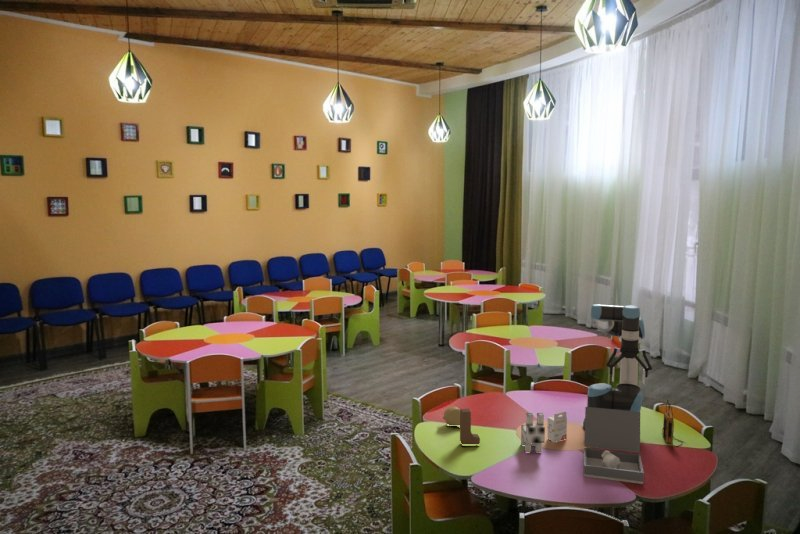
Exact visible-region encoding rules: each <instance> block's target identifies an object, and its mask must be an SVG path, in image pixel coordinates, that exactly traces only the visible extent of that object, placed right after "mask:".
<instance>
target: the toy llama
mask: <svg viewBox="0 0 800 534" xmlns="http://www.w3.org/2000/svg"><path fill="white" fill-rule="evenodd" d="M544 417H545V416H544V413H543V412H537V413H536V423H535V422H534V415H533V413H532V412H526V417H525V420H526V421H525V423H526V424H521V431H520V432H521V434H520V445H521V444H522V445H525V447H524V453H525V452H531V453H532V445H535V446H534V452H535V451H536V452H541V453H542V448H543V447H542V446H543V445H542V444H545V439H546V438H545V437H546V436H545V433H546V427H545V426H544ZM531 443H532V445H531ZM522 445H521V446H522ZM536 452H535V453H536Z"/></svg>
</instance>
